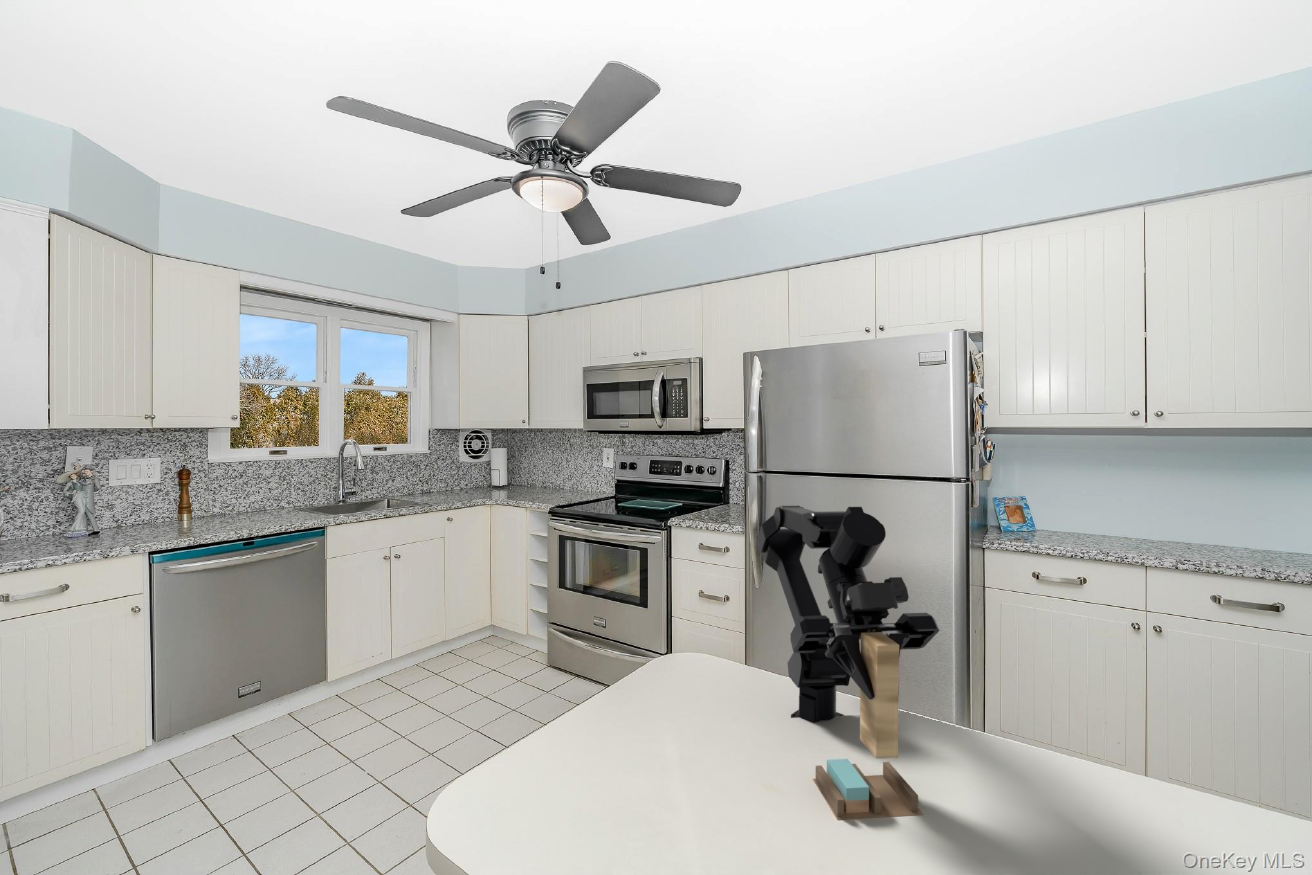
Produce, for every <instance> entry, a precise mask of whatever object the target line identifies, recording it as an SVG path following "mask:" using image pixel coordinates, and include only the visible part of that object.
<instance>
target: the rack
mask: <svg viewBox="0 0 1312 875" xmlns="http://www.w3.org/2000/svg"><path fill="white" fill-rule="evenodd" d="M851 764H852V765H853V767H854V768H855V769H856V771H857V772H858V773H859V775H860V776H861V777H862V779H863V780H864V781H865V782H866V784H867V785H868V786H869V812H860V813H846V812H845V811H844V799H843V797H842V796H841V794H840V793H839V791H838V790H837V788H836V787H835V785H834V784H833V782H832V780H831V779H830V777H829V776H828V774H827V770H825V769H824V766H822V765H815V778H812V781H813V782H814V784H815V786H816V788H818V790H819V792H820V794H821V795H822V797H823V799H824V800H825V802H826V803H827V805H828V808H830V811H831V812H832V813H833V815H834V817H835V818H836V820H837V821H846V820H860V819H861V820H863V819H878V818H880V819H881V818H893V817H895V818H896V817H897V818H898V817H912V816H922V815H923V816H924V813H923V812H922V811H921V810H920V809H919V795H918V793H917V792H916V791H915V790H914V789H913V788H912V786H911V785H910V784H909V783H908V781H906V779H905V778H903V776H902V775H901V774H900V773H899V772H898V771H897V769H896V768H895V767H894V765H892V764H891V763H890V761H882V774H877V775H876V774H875V775H874V774H872V775H865V774H864V772H862V771H861V769H860V767H859V766H858V765H857V764H856V763H851Z"/></svg>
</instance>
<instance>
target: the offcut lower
mask: <svg viewBox="0 0 1312 875" xmlns="http://www.w3.org/2000/svg"><path fill="white" fill-rule="evenodd" d="M826 773H827V774H828V772H827V771H826ZM828 776H829V777H830V775H829V774H828ZM830 779H831V780H832V778H831V777H830ZM832 782H833V784H834V785H835V787H836V788H837V786H836V784H835V783H834V781H833V780H832ZM837 790H838V791H839V789H838V788H837ZM839 793H840V794H841V792H840V791H839ZM841 796H842V797H843V795H842V794H841ZM843 799H844V811H845V812H846V813H860V812H869V800H853V801H846V800H845V798H844V797H843Z"/></svg>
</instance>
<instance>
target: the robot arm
mask: <svg viewBox="0 0 1312 875" xmlns="http://www.w3.org/2000/svg"><path fill="white" fill-rule="evenodd" d="M886 534H887V533H886V528H885V526H884V524H883V523H881V522H880V520H878V519H877V518H876V517H875V516H872V514H869V513H866V512H864V509H863V507H862V506H848V507H847V508H846V509H845V511H841V510H839V511H838V510H837V511H814V510H811V509H807V508H804V507H803V506H800V505H780V506H776V507H775V510H774V512H773V514H772V516H770V517H769V518H768V519H767V520H765V521H764V522H763V523H762V524H761V525H760V528H759V532H758V534H757V542H756V544H757V550H758V552H759V553H761V557H762V558H763V561H764V562H765V565H767V566H768V567H769V568H771V569H773V571H776V573H777V575H778V578H779V582H780V584H781V585H780V586H781V588H782V590H783V593H784V596H785V600H786V602H787V605H788V608H789V611H790V615H791V616H792V617H791V618H792V620H793V622H794V627H793V629H792V631H791V632H790V644H791V648H792V654H791V656H790V658H789V659H788V661H787V670H788V672H787V674H788V678H790V680H791V681H792V682H793V684H794V685H795V686H796V687H797V688H798V689H799V690H798V692H799V693H798V709H797V710H796V711H794V712H793V713H791V714H790V718H791V719H798V718H800V719H802V720H805V721H807V722H809V723H812V724H815V723H820V722H825V721H826V722H827V721H831V720H833V719H835V718H836V717H841V716H843V717H845V714H843V713H840V712H838V711H837V686H842V687H843V686H844V687H849V685H850V680H851V679H852V680H853V681H854V683H855V684H856V685H857V686H858V688H859V689H861V690H862V691H863V692H864V694H865V695H866V696H867V697H868V699H873V698H874V697H875V695H874V691H873V687H872V683H871V680H870V677H869V675H868V672H867V669H866V666H865V664H864V661H863V658H862V655H861V643H860V640H861V633H871V632H882V633H883V634H885V635H886V636H887V637H889V638H890V639H891V640H893V641H894V642H896V643H897V644H898V645H899V658H900V657H901V656H900V654H901V650H920V649H922V648H925V647H926V646H927V645H928V644H929V642H930V641H931V640H932V639H933V638H934V637H935V636H936V635H938V633H939V632H940V631H941V630H940V628H939V626H938V624H937V620H936V619H935V618H934V617H933V615H931V614H929V613H928V612H907V613H906V612H904V613H902V614H901V615H900V617H899V618H898V619H897V620H896V621H895V622H894V623H893V622H891V623H890V622H889V623H883V621H882V620H883V619H887V618H888V617H889V616H890V613H889V610H890V609H894V610H895V609H897V610H898V609H899V604H902V603H906V602H908V600H909V591H908V587H907V585H906V583H905V582H904V579H903V577H902V576H897V577H895V576H894V577H891V576H890V577H889V578H885V579H884V580H883V582H873V581H868V579H867V577H866V573H865V571H864V568H865V567H868V565H869V564H871V562H872V560H873V558H874V557H875V555H876V553H877V552H878V550H879V549H880V547H881V546H882V544H883V543H884V541H885V539H886ZM805 545H806V546H807V547H809V549H811V550H813V549H815V550H819V549H825V550H824V551H823V552H822V553H821V556H820V557H819V559H818V562H819V563H818V564H817V565H818V566H817V573H818V574H821V575H822V576H823V580H824V583H825V586H826V590H827V593H828V597H829V599H828V600H827V605H828V608H829V609H833V613H834V616H835V617H834V618H835V619H836V622H837V623H836V622H831V620H830V618H829V617H828V616H827V615H823V614H822V612H821V609H820V607H819V605H818V603H817V599H816V597H815V595H814V592H813V589H812V587H811V585H810V582H809V580H808V576H807V574H806V572H805V569H804V567H803V564H802V561H801V558H802V554H803V551H804V548H805Z"/></svg>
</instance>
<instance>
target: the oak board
mask: <svg viewBox="0 0 1312 875" xmlns="http://www.w3.org/2000/svg"><path fill="white" fill-rule="evenodd" d="M860 652H861V655H862V658H863V661H864V664H865V666H866V669H867V672H868V675H869V677H870V680H871V683H872V687H873V691H874V695H875V697H874V698H873V699H868V697H867V696H866V695H865V694H864V692H863V691H862V690H861V689H860V688H859V689H860V691H859V692H860V694H859V695H860V696H859V698H860V699H859V701H860V702H859V705H860V706H859V740H860V741H861V742H862V744H863V745H864V746H865V747H866V748H867V749H868V751H869V752H870V753H871V754H872V755H873V757H874V758H875V759H878V760H879V759H896V758H899V702H900V701H899V700H900V699H899V698H900V657H899V645H898V644H897V643H896V642H894V641H893V640H891V639H890V638H889V637H887V636H886V635H885V634H883V633H882V632H871V633H861V639H860Z"/></svg>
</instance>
